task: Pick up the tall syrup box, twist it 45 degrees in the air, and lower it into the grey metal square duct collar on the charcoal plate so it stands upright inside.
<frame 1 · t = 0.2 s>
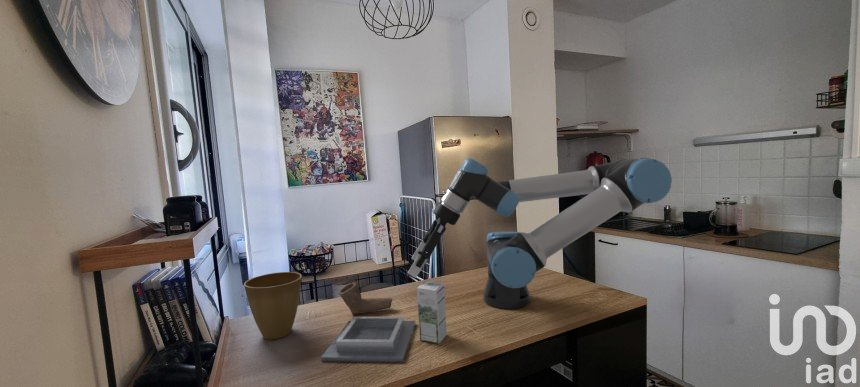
hand: (413, 267, 105), 16 cm above the table, tool tilted 35°, fingers open, 13 cm apart
duct plate: (372, 340, 93), on the table
pipe: (367, 313, 112), on the table
plant pot: (278, 334, 100), on the table
syrup box: (433, 338, 93), on the table
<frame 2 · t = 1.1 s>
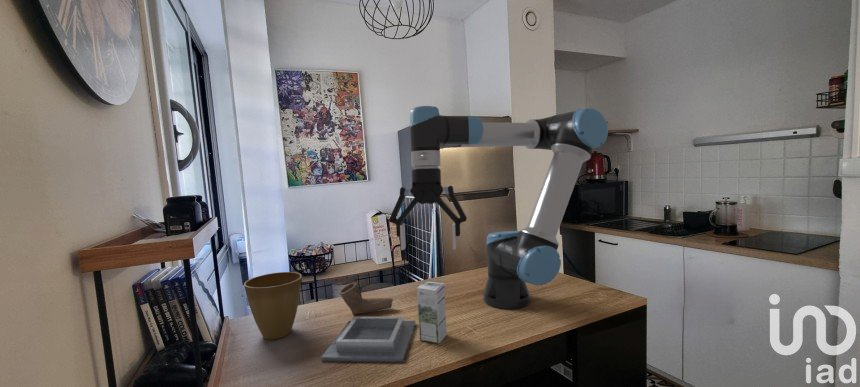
hand: (428, 248, 92), 24 cm above the table, tool pointing down, fingers open, 13 cm apart
nothing on the table moved.
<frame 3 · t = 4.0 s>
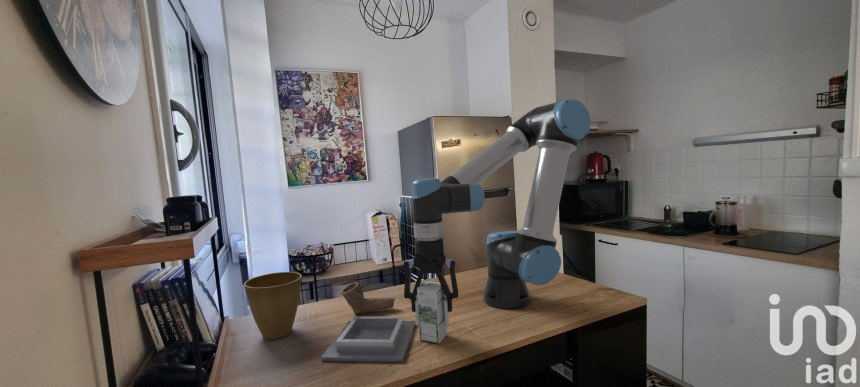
hand: (432, 323, 93), 4 cm above the table, tool pointing down, fingers closed on syrup box, 7 cm apart
syrup box: (433, 338, 93), on the table, touching gripper
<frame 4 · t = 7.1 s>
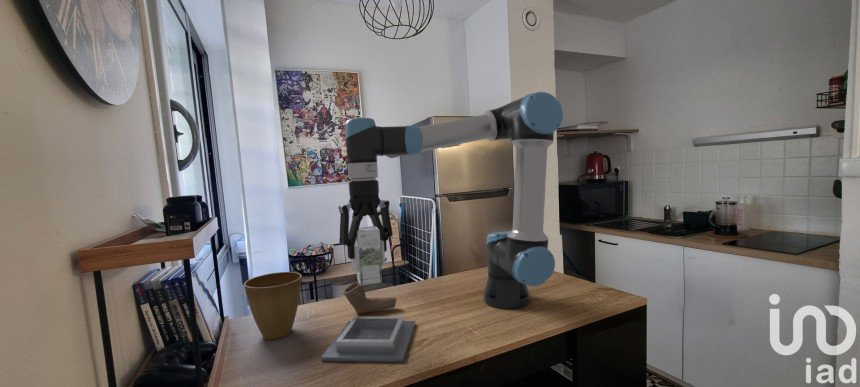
hand: (368, 267, 92), 20 cm above the table, tool pointing down, fingers closed on syrup box, 7 cm apart
syrup box: (369, 283, 92), point 16 cm above the table, touching gripper
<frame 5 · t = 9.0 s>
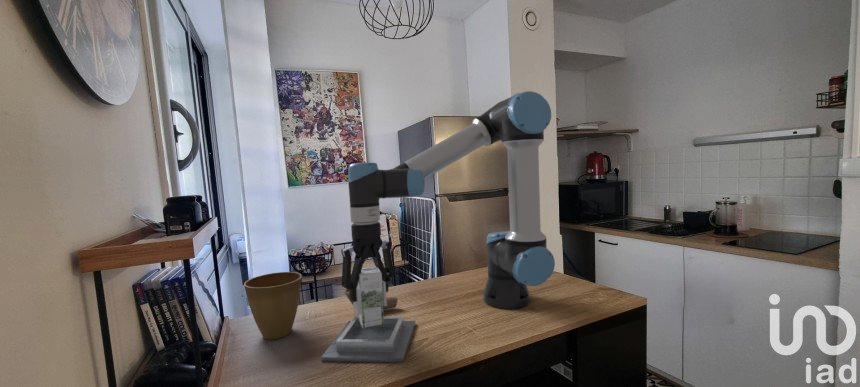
hand: (370, 308, 92), 9 cm above the table, tool pointing down, fingers closed on syrup box, 7 cm apart
syrup box: (371, 323, 93), point 5 cm above the table, touching gripper
when the fingers open (6 cm above the table, at t = 10.4 s): syrup box stays where it is, resting on duct plate.
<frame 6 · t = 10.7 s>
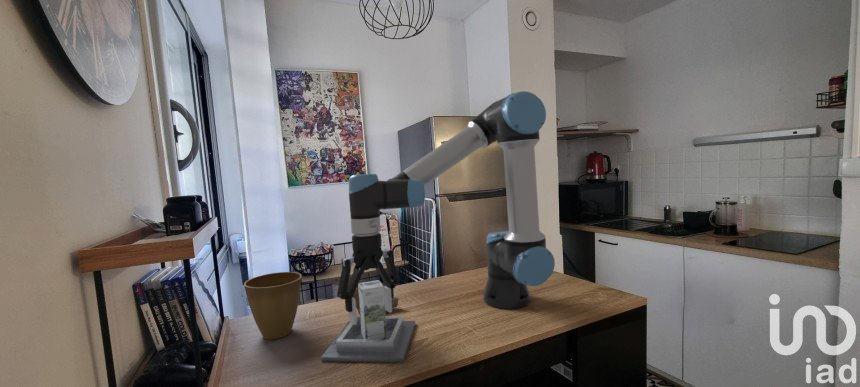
hand: (371, 316, 93), 7 cm above the table, tool pointing down, fingers open, 10 cm apart
syrup box: (373, 337, 93), point 1 cm above the table, touching duct plate
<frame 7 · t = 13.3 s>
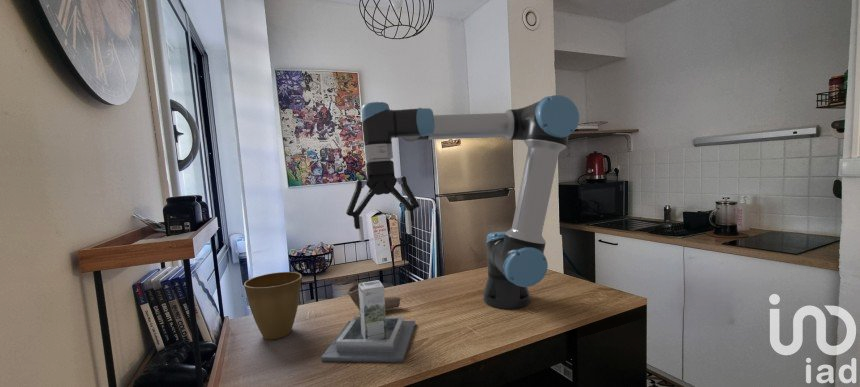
hand: (386, 236, 98), 27 cm above the table, tool pointing down, fingers open, 13 cm apart
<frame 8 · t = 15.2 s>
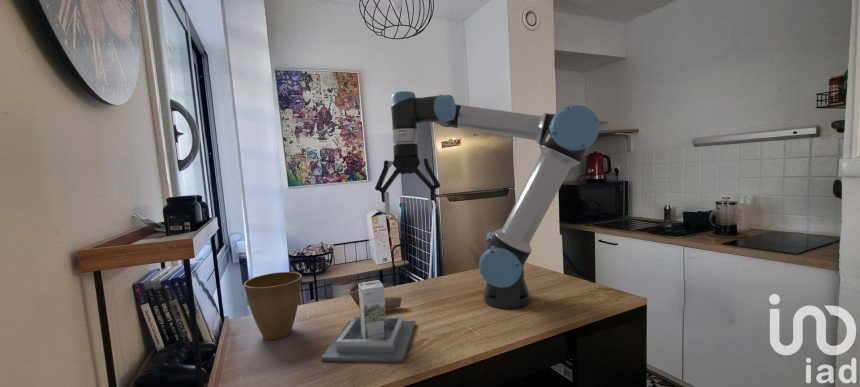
hand: (408, 212, 110), 32 cm above the table, tool pointing down, fingers open, 13 cm apart
at the end: syrup box 0.4 cm off-centre on the duct plate, point 0.8 cm above the duct plate's base; syrup box tilted 0°; the gripper is holding nothing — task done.
